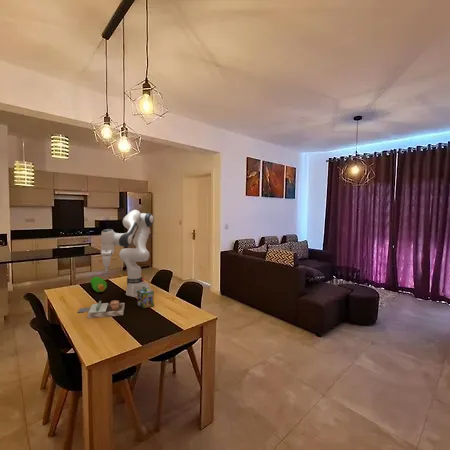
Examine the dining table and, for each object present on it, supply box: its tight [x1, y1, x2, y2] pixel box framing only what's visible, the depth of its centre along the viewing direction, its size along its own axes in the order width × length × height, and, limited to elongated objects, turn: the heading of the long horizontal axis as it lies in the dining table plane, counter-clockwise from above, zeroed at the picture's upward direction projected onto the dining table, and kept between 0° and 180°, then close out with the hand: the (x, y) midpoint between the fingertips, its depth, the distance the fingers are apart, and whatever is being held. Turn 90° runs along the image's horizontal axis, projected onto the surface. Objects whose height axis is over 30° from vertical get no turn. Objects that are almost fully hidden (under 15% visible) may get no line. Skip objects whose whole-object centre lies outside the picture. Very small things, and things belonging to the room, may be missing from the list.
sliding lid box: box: [87, 302, 125, 319], centre depth 186 cm, size 22×15×4 cm
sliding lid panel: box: [88, 300, 109, 313], centre depth 185 cm, size 10×15×3 cm
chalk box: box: [137, 287, 155, 309], centre depth 201 cm, size 9×9×15 cm
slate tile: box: [77, 306, 91, 314], centre depth 189 cm, size 7×7×1 cm
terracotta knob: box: [109, 300, 120, 311], centre depth 188 cm, size 6×6×7 cm
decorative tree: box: [90, 276, 108, 293], centre depth 234 cm, size 11×12×30 cm
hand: (107, 270), depth 194 cm, fingers open, 8 cm apart
